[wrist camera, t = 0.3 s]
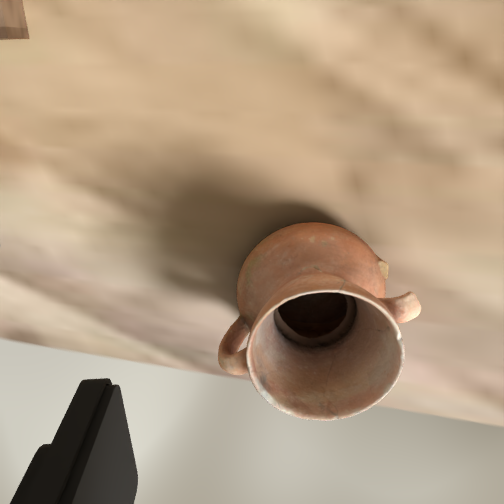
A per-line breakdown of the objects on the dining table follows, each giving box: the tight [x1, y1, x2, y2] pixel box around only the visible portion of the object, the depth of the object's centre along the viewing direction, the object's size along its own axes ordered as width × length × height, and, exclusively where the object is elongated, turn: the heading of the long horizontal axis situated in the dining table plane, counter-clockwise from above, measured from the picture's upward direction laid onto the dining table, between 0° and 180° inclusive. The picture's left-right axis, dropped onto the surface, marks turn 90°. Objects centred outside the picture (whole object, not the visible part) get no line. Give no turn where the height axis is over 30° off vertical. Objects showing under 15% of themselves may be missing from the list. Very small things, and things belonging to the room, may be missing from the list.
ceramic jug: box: [218, 222, 421, 421], centre depth 44 cm, size 18×14×14 cm
